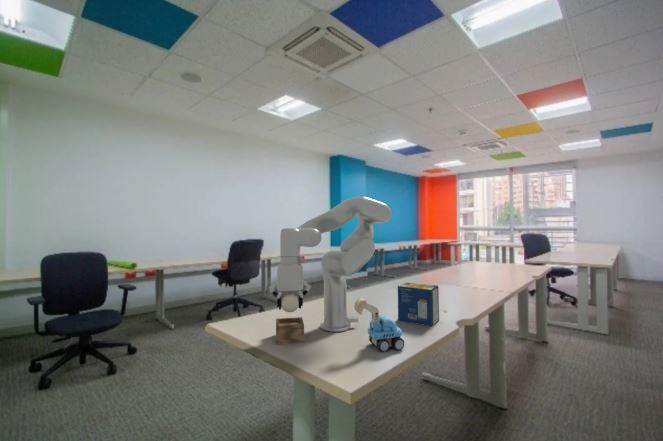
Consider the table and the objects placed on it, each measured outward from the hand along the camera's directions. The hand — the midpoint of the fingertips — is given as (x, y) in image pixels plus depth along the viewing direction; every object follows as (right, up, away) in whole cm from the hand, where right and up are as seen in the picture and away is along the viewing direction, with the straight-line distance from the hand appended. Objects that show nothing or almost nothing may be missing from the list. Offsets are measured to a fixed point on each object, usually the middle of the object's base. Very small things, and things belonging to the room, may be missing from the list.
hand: (289, 307), depth 115 cm
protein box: (+54, -12, +21) cm, 59 cm away
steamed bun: (0, -2, 0) cm, 2 cm away
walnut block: (0, -12, -1) cm, 12 cm away
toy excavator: (+32, -11, -10) cm, 35 cm away
